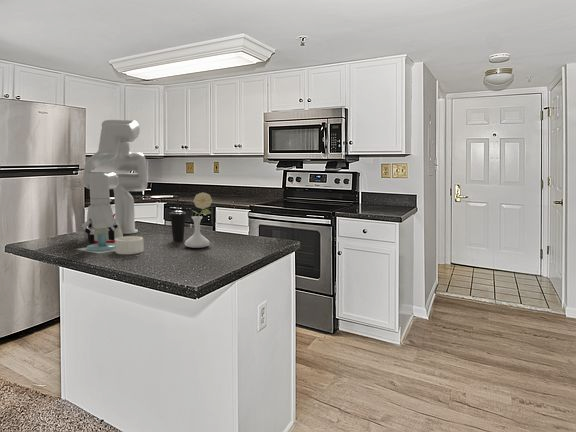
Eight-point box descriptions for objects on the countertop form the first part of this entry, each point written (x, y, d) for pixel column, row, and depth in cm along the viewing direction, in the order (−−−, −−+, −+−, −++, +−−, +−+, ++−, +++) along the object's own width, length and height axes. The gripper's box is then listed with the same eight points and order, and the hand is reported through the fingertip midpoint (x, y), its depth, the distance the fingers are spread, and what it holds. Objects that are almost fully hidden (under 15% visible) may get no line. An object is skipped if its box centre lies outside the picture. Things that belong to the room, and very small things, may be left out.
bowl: (109, 253, 177) (109, 239, 176) (131, 248, 186) (131, 235, 186) (127, 256, 171) (126, 242, 171) (148, 251, 181) (148, 238, 180)
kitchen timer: (112, 245, 193) (110, 212, 192) (85, 243, 196) (83, 211, 194) (129, 239, 207) (128, 209, 205) (103, 238, 210) (102, 208, 208)
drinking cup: (177, 242, 201) (176, 200, 199) (167, 240, 206) (166, 199, 203) (189, 240, 207) (189, 199, 205) (179, 238, 212) (178, 198, 209)
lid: (80, 249, 181) (79, 234, 180) (105, 244, 191) (104, 231, 191) (98, 252, 175) (97, 237, 174) (123, 247, 185) (122, 233, 185)
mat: (76, 250, 181) (76, 249, 181) (105, 245, 193) (105, 243, 193) (98, 255, 174) (98, 253, 174) (127, 249, 186) (127, 247, 185)
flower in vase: (180, 249, 188) (179, 192, 184) (190, 244, 199) (189, 190, 195) (208, 250, 185) (207, 193, 182) (217, 245, 196) (216, 191, 193)
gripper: (112, 200, 190) (113, 237, 192) (75, 203, 175) (77, 243, 177) (123, 201, 186) (124, 239, 188) (86, 204, 171) (88, 245, 174)
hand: (101, 241), depth 183 cm, fingers open, 9 cm apart
